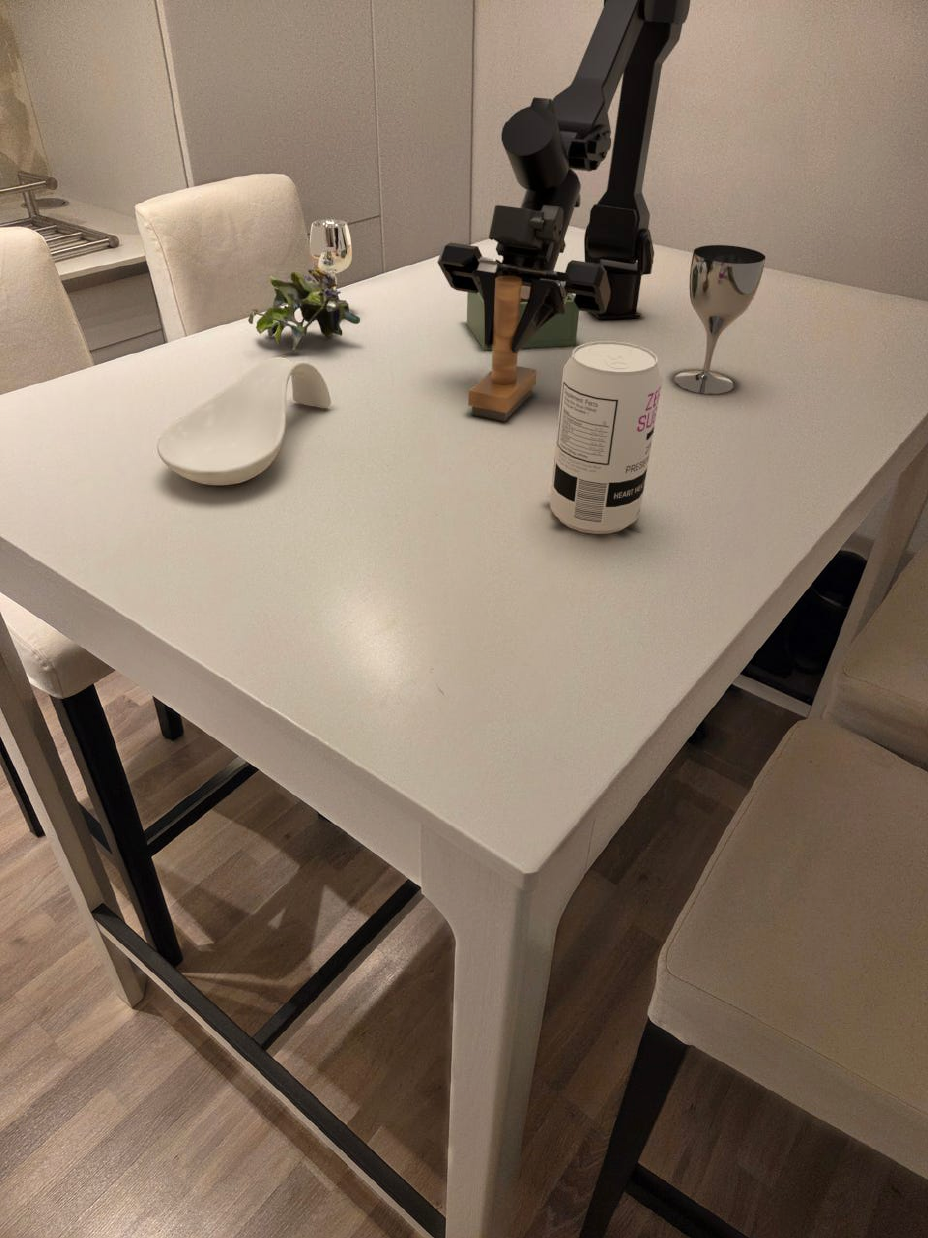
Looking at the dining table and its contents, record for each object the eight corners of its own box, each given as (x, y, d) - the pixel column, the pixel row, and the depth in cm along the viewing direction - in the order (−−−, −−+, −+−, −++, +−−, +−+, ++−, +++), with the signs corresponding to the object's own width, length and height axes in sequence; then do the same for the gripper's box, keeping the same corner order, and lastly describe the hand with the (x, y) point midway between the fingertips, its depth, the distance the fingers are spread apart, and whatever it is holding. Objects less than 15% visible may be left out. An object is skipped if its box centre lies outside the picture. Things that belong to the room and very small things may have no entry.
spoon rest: (247, 512, 79) (237, 440, 74) (138, 488, 82) (122, 418, 77) (358, 412, 97) (355, 349, 92) (266, 396, 100) (258, 334, 95)
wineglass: (359, 308, 125) (354, 219, 118) (351, 321, 121) (346, 229, 113) (320, 306, 125) (313, 217, 118) (310, 319, 121) (303, 227, 114)
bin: (552, 319, 123) (556, 277, 120) (575, 345, 115) (580, 301, 112) (466, 323, 121) (467, 280, 118) (483, 350, 113) (485, 305, 109)
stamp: (535, 394, 102) (544, 270, 93) (505, 423, 95) (512, 293, 87) (499, 387, 103) (505, 265, 95) (467, 415, 97) (470, 287, 88)
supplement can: (542, 493, 83) (556, 338, 74) (626, 491, 83) (651, 338, 74) (557, 538, 76) (574, 375, 67) (648, 536, 77) (677, 374, 68)
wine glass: (739, 375, 108) (767, 249, 99) (733, 399, 102) (763, 267, 93) (675, 366, 110) (697, 241, 101) (666, 389, 104) (689, 258, 95)
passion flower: (329, 375, 119) (377, 307, 112) (289, 390, 109) (340, 316, 103) (268, 318, 118) (314, 245, 112) (224, 327, 109) (270, 249, 103)
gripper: (445, 160, 91) (398, 296, 89) (616, 180, 85) (568, 326, 83) (474, 225, 101) (432, 347, 100) (628, 246, 95) (585, 376, 94)
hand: (500, 348), depth 94 cm, fingers closed on stamp, 3 cm apart
